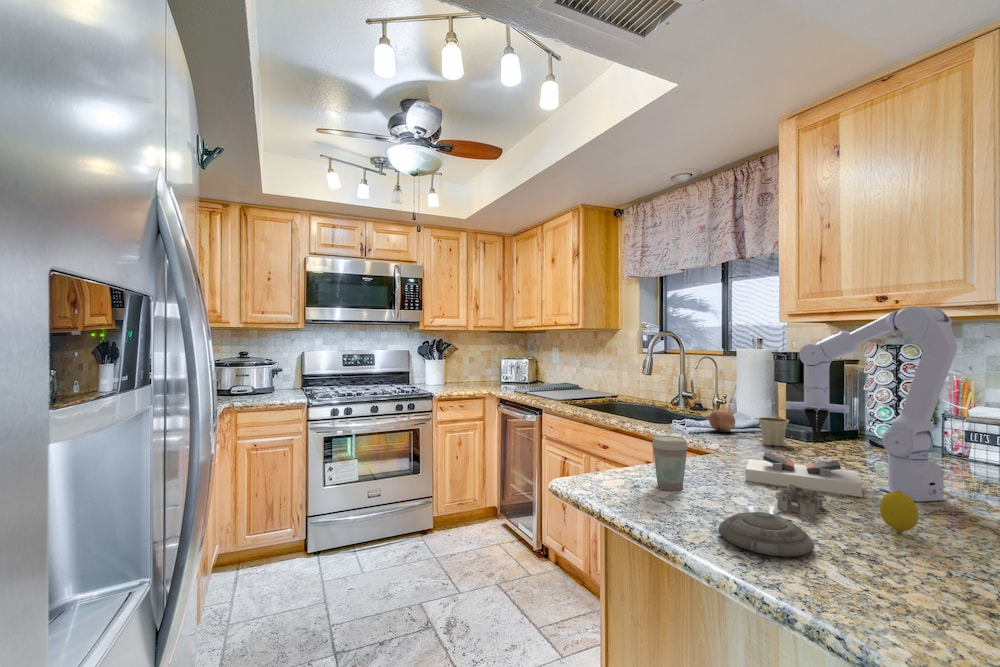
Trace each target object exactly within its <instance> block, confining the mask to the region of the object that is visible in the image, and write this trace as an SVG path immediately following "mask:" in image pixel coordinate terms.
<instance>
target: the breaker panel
mask: <svg viewBox="0 0 1000 667" xmlns="http://www.w3.org/2000/svg"><path fill="white" fill-rule="evenodd" d="M780 458H781V459H783V457H780ZM817 462H818V461H817ZM818 463H821V462H818ZM745 481H746V482H750V483H751V482H753V483H758V484H760V483H761V484H766V485H767V484H768V485H774V486H780V487H786V488H787V487H788V486H789V485H790V484H793V485H795V486H797V487H799V488H801V487H802V488H804V489H809V490H810V491H813V490H815V492H816V491H817V492H822V493H823V492H824V493H830V494H840V495H845V496H852V497H853V496H854V497H860V498H863V483H862V481H861V479H860V476H859V474H858V473H857V471H856V470H855V471H854V470H849V469H846V470H839V469H837V470H830V469H824V468H820V472H814V473H808V471H807V467H806V465H805V464H804V465H803V464H795V463H794V470H793V472H792V471H790V470H787V469H785V468H782V463H770V462H768V461H766V460H763V459H762V460H761V459H754V458H749V459H748V461H747V465H746V467H745Z"/></svg>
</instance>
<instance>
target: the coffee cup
mask: <svg viewBox="0 0 1000 667" xmlns="http://www.w3.org/2000/svg"><path fill="white" fill-rule="evenodd" d="M651 447H652V450H653V458H654V468H655V475H656V482H657V483H656V484H657V487H658V488H659V489H660V490H664V491H671V492H678V491H682V490H683V489H684V479H685V470H686V462H687V453H688V449H689V444H688V443H687V439H686V438H684V437H680V436H676V435H675V436H674V435H657V436H654V437H653V440H652V442H651Z"/></svg>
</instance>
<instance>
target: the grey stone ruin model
mask: <svg viewBox="0 0 1000 667" xmlns="http://www.w3.org/2000/svg"><path fill="white" fill-rule="evenodd" d="M774 494H775V498H776V500H777V508H778V509H780V510H781V511H783V512H786V513H788V512H794V513H797V514H799V515H800V516H804V517H808V516H810V517H814V516H815V514H816V513H819V510H820V509H823V508H824V504H823V502H824V499H825V494H824V493H820V494H819V493H817V492H816V490H809V489H804V488H802V487H801V488H799V487H797V486H795V485H793V484H790V485H789V486H788V487H787V486H786V487H784V488H782V489H781V490H780V491H776V492H775V493H774ZM794 501H796V502H794Z"/></svg>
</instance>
